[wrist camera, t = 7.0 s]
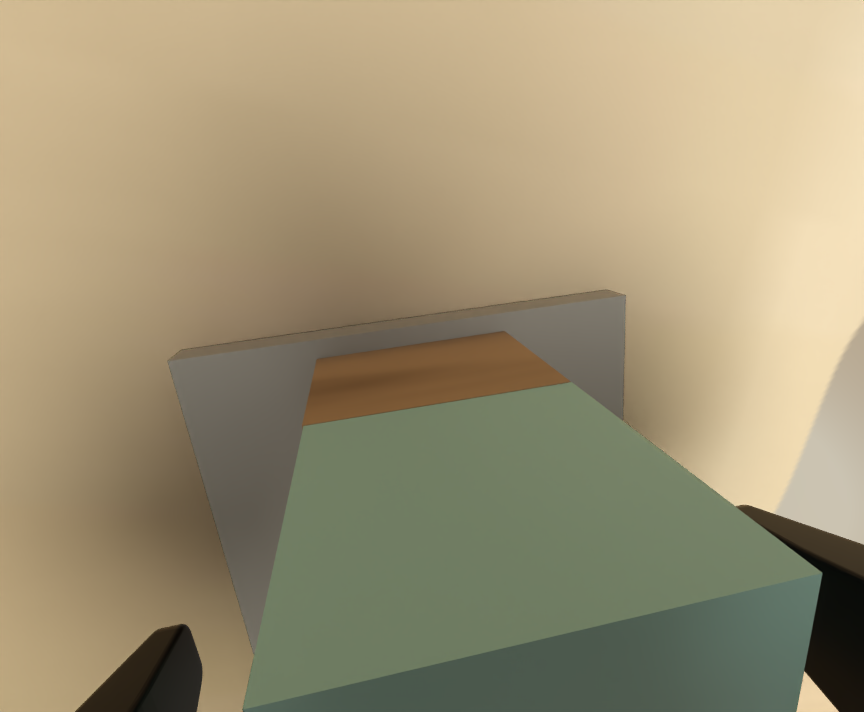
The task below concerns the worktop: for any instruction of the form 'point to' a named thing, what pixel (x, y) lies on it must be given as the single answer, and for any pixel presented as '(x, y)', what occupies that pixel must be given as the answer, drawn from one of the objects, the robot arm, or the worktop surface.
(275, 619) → the teal block
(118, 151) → the worktop surface
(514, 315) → the board
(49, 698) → the worktop surface
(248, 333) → the worktop surface
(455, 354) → the walnut base
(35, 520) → the worktop surface
